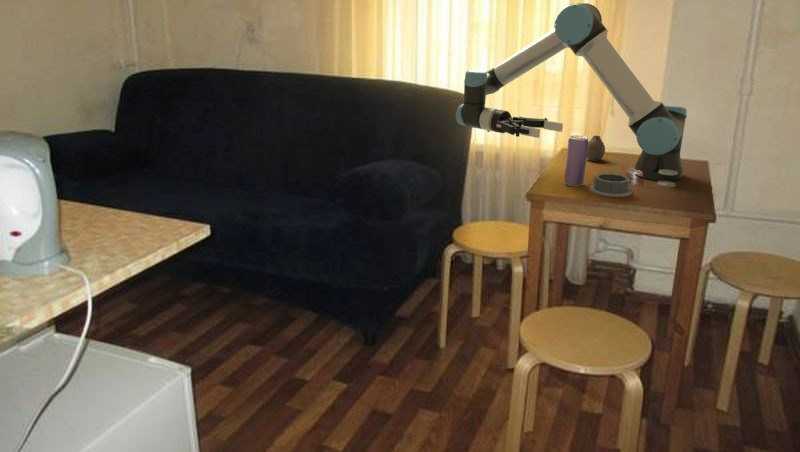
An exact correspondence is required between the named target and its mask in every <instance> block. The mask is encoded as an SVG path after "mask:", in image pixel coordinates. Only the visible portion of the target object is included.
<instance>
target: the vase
mask: <svg viewBox="0 0 800 452" xmlns="http://www.w3.org/2000/svg"><path fill="white" fill-rule="evenodd" d="M601 138H602V137H601V136H600V135H593V136H592V137H591V138H590V139H589V140H588V149H587V158H586V160H588V161H589V162H590V161H591V162H600V161H601V160H602V159H603V158H604V156H605V153H606V145H605V143H604V142H603V140H602V139H601Z"/></svg>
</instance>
